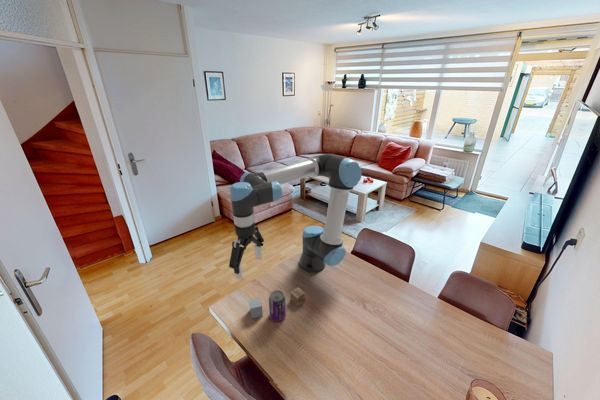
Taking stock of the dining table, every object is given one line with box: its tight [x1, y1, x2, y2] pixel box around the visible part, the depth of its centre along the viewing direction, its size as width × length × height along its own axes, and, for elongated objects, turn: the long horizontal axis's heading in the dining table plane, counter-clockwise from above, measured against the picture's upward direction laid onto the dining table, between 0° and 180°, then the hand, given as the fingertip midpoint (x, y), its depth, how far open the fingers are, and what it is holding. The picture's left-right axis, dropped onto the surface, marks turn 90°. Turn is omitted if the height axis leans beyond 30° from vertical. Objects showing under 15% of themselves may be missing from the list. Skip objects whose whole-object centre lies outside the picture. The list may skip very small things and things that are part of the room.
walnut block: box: [289, 287, 306, 307], centre depth 121 cm, size 5×5×5 cm
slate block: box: [248, 297, 264, 319], centre depth 114 cm, size 5×5×6 cm
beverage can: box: [268, 289, 287, 322], centre depth 111 cm, size 7×7×12 cm
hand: (249, 268), depth 105 cm, fingers open, 13 cm apart
